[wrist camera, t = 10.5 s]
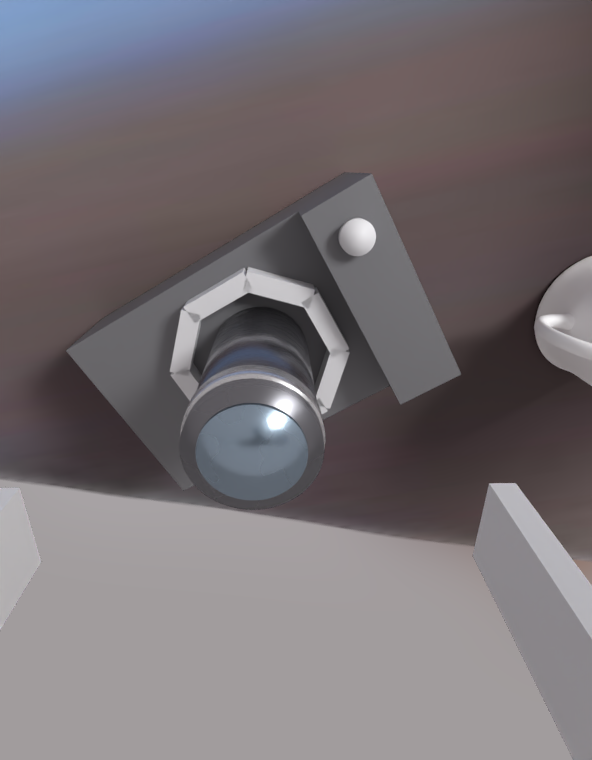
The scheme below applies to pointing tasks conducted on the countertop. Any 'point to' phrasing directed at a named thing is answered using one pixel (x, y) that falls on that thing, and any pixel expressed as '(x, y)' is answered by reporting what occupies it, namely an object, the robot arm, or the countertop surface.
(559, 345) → the mug
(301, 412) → the lens
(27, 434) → the countertop surface
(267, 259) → the camera body
